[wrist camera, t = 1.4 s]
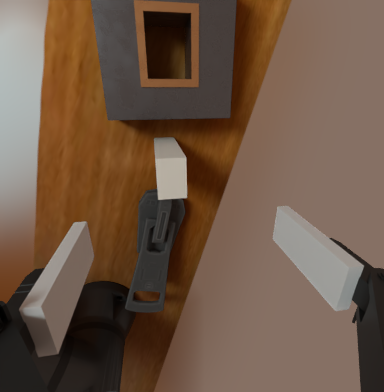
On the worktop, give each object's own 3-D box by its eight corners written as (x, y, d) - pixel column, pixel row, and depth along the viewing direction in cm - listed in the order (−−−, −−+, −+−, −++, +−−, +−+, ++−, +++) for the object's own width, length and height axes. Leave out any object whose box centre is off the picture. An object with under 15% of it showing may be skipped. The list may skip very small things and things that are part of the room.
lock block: (219, 115, 41) (230, 118, 35) (114, 117, 38) (107, 120, 32) (224, -14, 34) (239, -38, 28) (95, -23, 31) (83, -51, 25)
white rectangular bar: (174, 164, 43) (187, 197, 28) (155, 165, 42) (158, 199, 28) (173, 137, 41) (186, 157, 26) (153, 137, 40) (155, 158, 26)
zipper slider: (121, 312, 46) (140, 198, 37) (124, 287, 52) (142, 185, 43) (165, 314, 48) (193, 206, 39) (163, 290, 54) (187, 192, 45)
